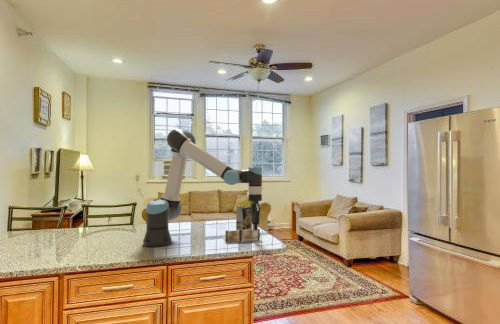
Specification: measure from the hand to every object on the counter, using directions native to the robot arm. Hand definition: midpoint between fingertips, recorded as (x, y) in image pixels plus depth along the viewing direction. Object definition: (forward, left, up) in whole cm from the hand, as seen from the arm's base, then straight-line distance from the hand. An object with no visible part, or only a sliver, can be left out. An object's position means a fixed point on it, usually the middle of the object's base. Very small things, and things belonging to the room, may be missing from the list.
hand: (255, 235), depth 179 cm
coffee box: (-1, +28, -4) cm, 29 cm away
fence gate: (-1, +4, -3) cm, 6 cm away
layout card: (-7, +9, -4) cm, 12 cm away
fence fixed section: (-11, +4, -4) cm, 13 cm away
